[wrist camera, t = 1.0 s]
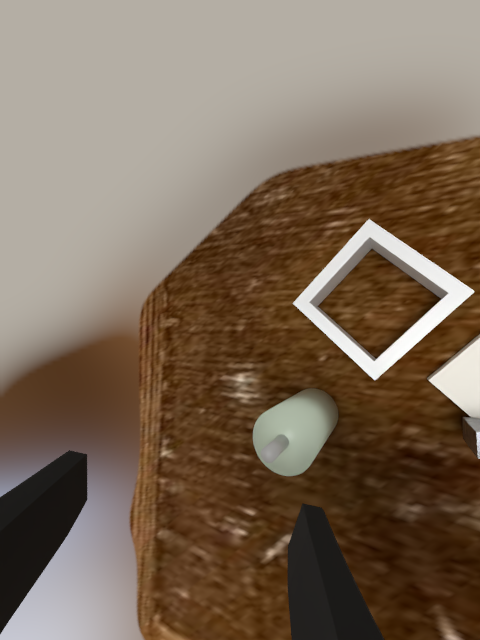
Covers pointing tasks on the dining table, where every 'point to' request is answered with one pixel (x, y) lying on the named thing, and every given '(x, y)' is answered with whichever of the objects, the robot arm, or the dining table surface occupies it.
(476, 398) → the dial panel
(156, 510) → the dining table surface
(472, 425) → the dial lever
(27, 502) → the robot arm
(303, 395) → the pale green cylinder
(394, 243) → the tool holder
